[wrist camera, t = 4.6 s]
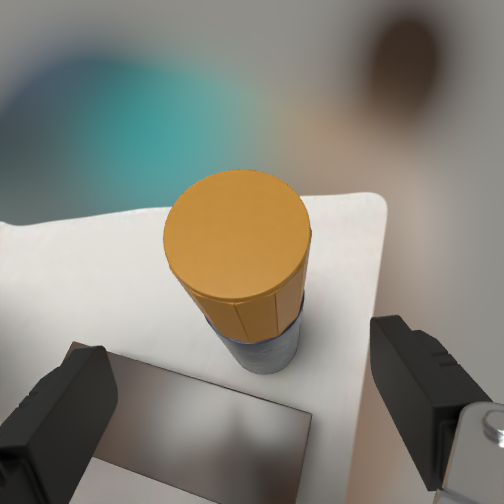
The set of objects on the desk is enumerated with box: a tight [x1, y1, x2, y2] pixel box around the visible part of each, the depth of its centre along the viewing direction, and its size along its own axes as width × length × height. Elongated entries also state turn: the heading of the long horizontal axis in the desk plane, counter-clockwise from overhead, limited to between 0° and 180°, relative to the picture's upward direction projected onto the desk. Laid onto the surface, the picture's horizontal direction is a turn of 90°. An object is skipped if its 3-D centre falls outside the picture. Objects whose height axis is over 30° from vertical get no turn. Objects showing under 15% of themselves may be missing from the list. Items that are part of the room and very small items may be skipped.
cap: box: [163, 170, 312, 343], centre depth 18 cm, size 6×6×8 cm
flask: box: [204, 292, 304, 374], centre depth 27 cm, size 7×7×18 cm
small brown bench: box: [62, 342, 312, 504], centre depth 29 cm, size 20×7×7 cm, turn 74°
